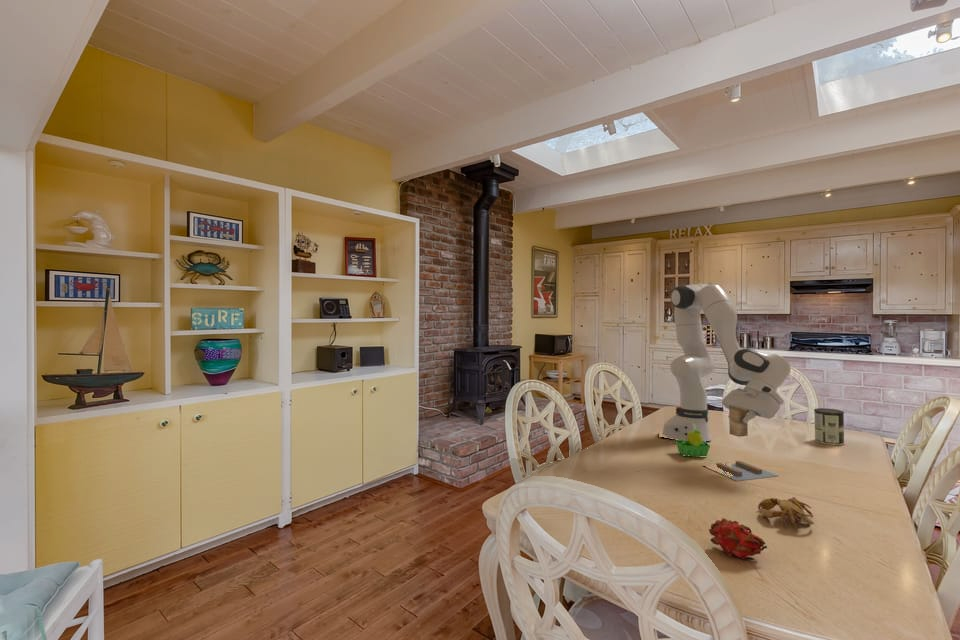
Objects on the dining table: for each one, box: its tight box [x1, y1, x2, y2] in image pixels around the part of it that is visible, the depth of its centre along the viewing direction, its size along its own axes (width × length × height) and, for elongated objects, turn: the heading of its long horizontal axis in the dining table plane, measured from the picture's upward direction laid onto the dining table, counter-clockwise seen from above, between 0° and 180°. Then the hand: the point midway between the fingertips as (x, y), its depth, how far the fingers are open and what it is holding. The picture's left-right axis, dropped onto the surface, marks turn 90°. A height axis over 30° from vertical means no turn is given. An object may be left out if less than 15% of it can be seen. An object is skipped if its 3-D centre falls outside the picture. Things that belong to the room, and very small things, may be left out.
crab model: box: [757, 496, 815, 528], centre depth 120 cm, size 16×13×6 cm
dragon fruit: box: [708, 517, 768, 561], centre depth 102 cm, size 8×8×12 cm
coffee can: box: [813, 407, 845, 446], centre depth 190 cm, size 10×10×14 cm
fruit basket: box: [675, 430, 711, 457], centre depth 175 cm, size 11×9×11 cm
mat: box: [715, 460, 779, 482], centre depth 157 cm, size 18×16×2 cm
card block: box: [728, 406, 749, 437], centre depth 157 cm, size 4×4×10 cm
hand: (736, 420), depth 157 cm, fingers closed on card block, 4 cm apart
